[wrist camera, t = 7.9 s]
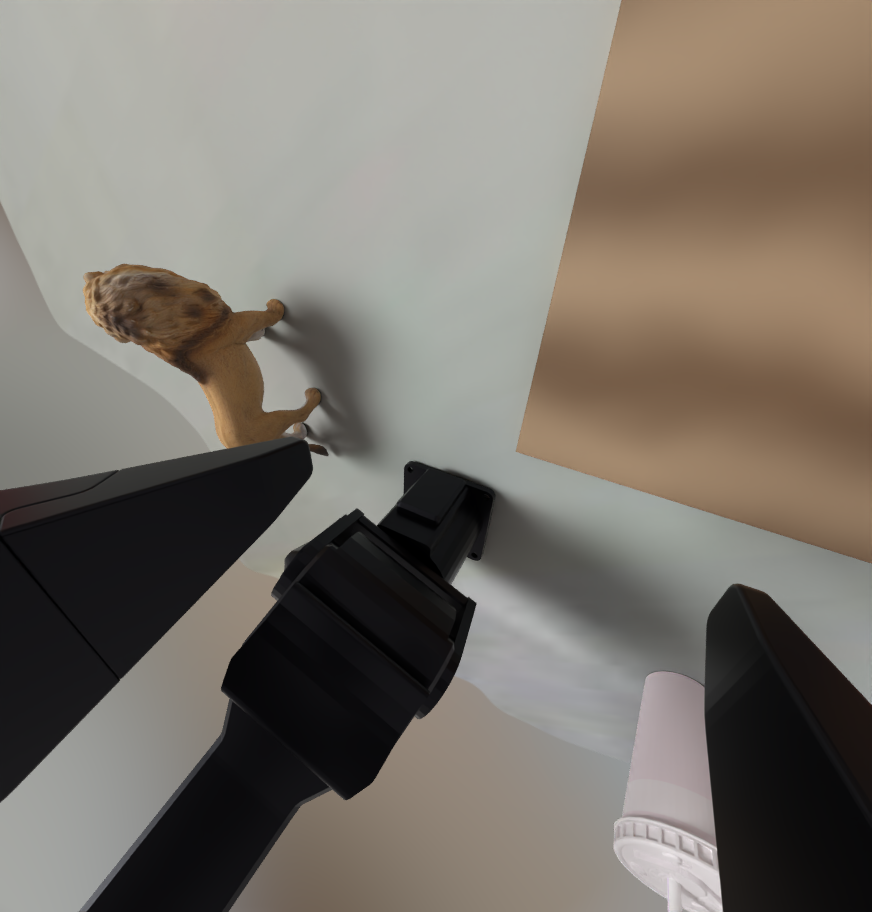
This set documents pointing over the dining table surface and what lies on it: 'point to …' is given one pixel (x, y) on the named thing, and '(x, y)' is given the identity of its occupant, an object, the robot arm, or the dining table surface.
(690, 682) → the smoothie
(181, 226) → the dining table surface
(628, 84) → the press board
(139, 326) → the lion figurine
